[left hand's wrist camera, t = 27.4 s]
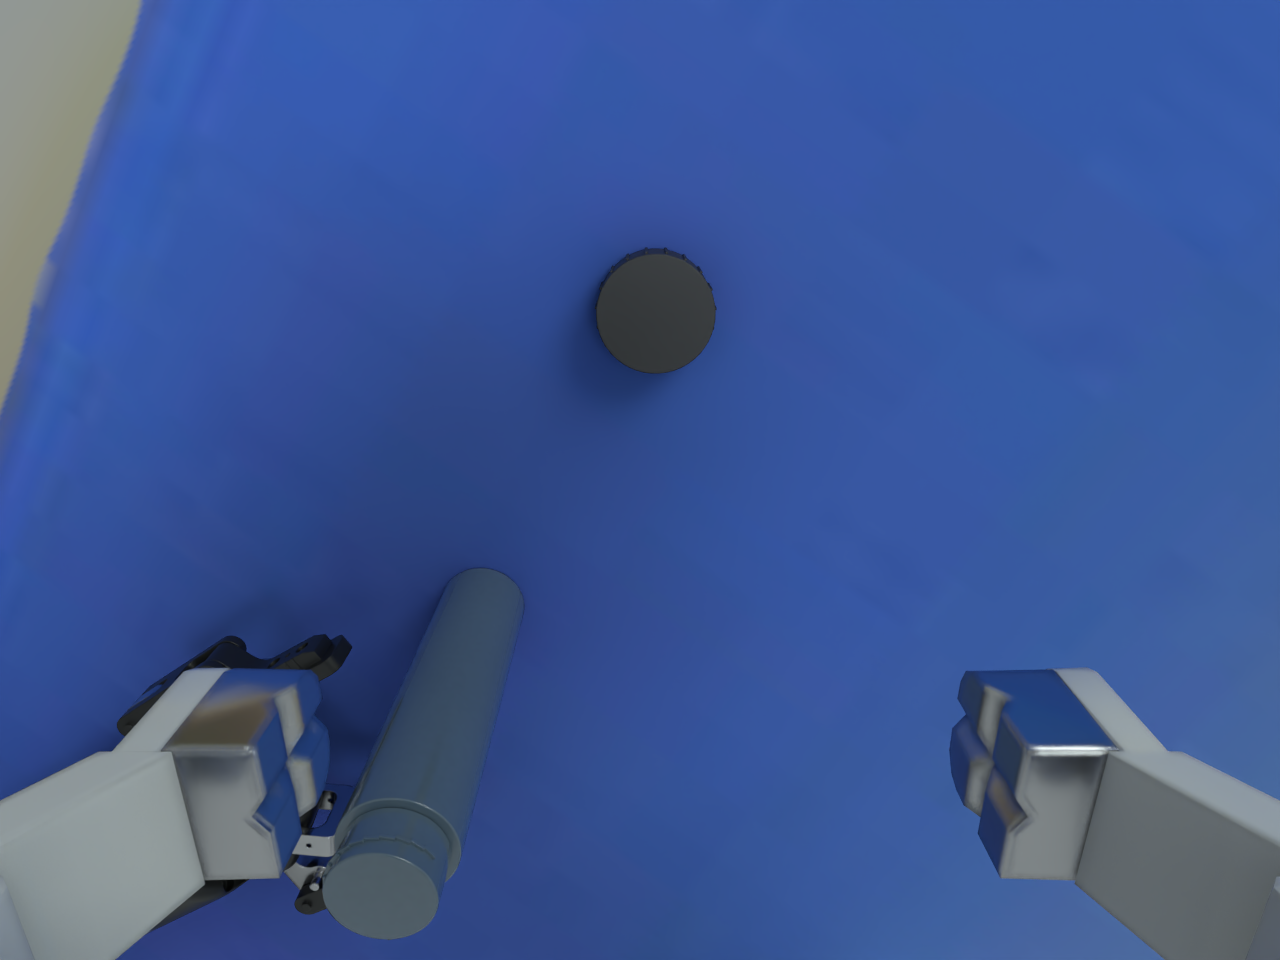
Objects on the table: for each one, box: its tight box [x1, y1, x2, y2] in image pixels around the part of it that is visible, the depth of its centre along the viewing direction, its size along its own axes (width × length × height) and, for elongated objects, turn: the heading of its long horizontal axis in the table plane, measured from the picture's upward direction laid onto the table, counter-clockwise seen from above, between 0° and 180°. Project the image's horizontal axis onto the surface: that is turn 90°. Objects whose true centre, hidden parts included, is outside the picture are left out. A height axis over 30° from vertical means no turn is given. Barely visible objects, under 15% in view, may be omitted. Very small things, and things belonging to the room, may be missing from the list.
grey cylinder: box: [322, 568, 524, 940], centre depth 35 cm, size 4×4×18 cm
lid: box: [595, 248, 716, 373], centre depth 37 cm, size 5×5×2 cm
